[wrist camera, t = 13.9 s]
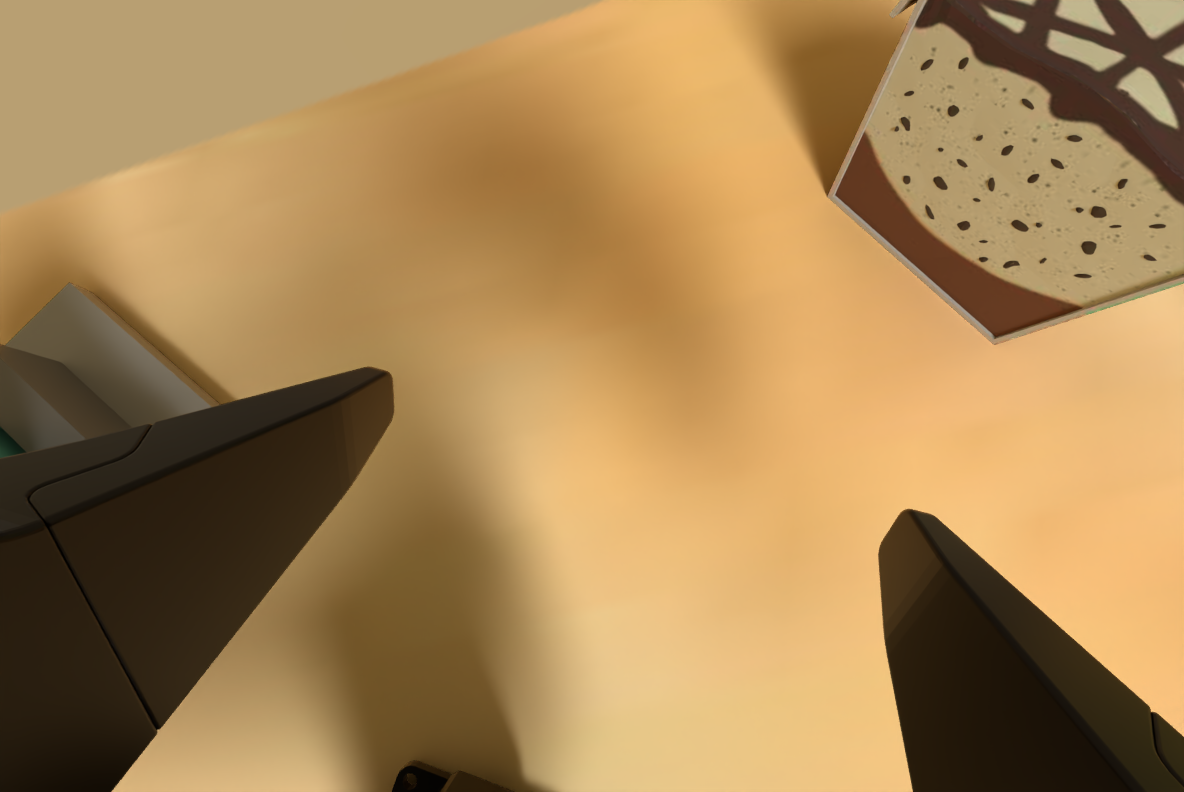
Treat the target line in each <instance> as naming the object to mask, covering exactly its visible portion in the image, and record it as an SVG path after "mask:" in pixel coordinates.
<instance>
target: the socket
mask: <svg viewBox="0 0 1184 792" xmlns="http://www.w3.org/2000/svg"><path fill="white" fill-rule="evenodd" d="M218 405H220V404H219V403H218V402H217V401H215V400H214V399H213V398H212V397H211V396H210V395H209V394H207V393H206V392H205V391H204V390H203V389H202V388H201V387H199V386H198V385H197V384H196V383H195V382H194V381H193V380H191V379H190V378H189V377H188V376H187V375H186V374H185V373H183V372H182V371H181V370H180V369H179V368H178V367H176V366H175V365H174V364H173V363H172V362H171V361H170V360H168V359H167V358H166V357H165V356H164V355H163V354H162V353H160V352H159V351H158V350H157V349H156V348H155V347H154V346H152V345H151V344H150V343H149V342H148V341H147V340H146V339H144V338H143V337H142V336H141V335H140V334H139V333H138V332H136V331H135V330H134V329H133V328H132V327H131V326H130V325H128V324H127V323H126V322H125V321H124V320H123V319H122V318H120V317H119V316H118V315H117V314H116V313H115V312H114V311H112V310H111V309H110V308H109V307H108V306H107V305H105V304H104V303H103V302H102V301H101V300H100V299H99V298H97V297H96V296H95V295H94V294H93V293H92V292H90V291H88V290H86V289H83V288H81V287H79V286H77V285H74V284H72V283H70V282H69V283H68V284H67V285H66V286H65V287H64V288H63V289H62V290H61V291H60V292H59V293H58V294H57V295H56V296H55V297H54V298H53V299H52V300H51V301H50V302H49V303H48V304H47V305H46V306H45V307H44V308H43V309H42V310H41V311H40V312H39V313H38V314H37V315H36V316H35V317H34V318H32V319H31V320H30V321H29V322H28V323H27V324H26V325H25V326H24V327H23V328H22V329H21V330H20V331H19V332H18V333H17V334H16V335H15V336H14V337H13V338H12V339H11V340H10V341H9V342H8V343H7V344H6V345H5V346H4V345H1V344H0V427H1V428H2V429H3V430H4V431H6V432H7V433H8V434H9V435H10V436H11V437H12V438H13V439H14V440H15V441H16V442H17V443H18V444H19V445H20V446H21V447H22V448H23V449H24V450H25V451H26V452H31V451H36V450H40V449H45V448H49V447H54V446H58V445H63V444H67V443H72V442H76V441H81V440H85V439H89V438H93V437H97V436H101V435H105V434H109V433H113V432H117V431H121V430H125V429H129V428H133V427H136V426H140V425H144V424H152V425H153V424H154V422H156V421H160V420H164V419H168V418H172V417H175V416H179V415H183V414H187V413H191V412H195V411H198V410H202V409H206V408H210V407H214V406H218Z"/></svg>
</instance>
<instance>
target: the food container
mask: <svg viewBox="0 0 1184 792" xmlns="http://www.w3.org/2000/svg"><path fill="white" fill-rule="evenodd" d="M914 3H916V5H915V7H914V10H913V12H912V14H911V16H910V18H909V20H908V23H907V25H906V27H905V29H904V31H903V33H902V36H901V38H900V40H899V42H898V44H897V46H896V49H895V51H894V53H893V55H892V57H891V59H890V61H889V64H888V66H887V68H886V70H885V72H884V74H883V77H882V79H881V81H880V83H879V85H878V87H877V90H876V92H875V94H874V96H873V98H872V100H871V103H870V105H869V107H868V109H867V111H866V113H865V116H864V118H863V120H862V122H861V124H860V126H859V129H858V131H857V133H856V135H855V137H854V139H853V142H852V144H851V146H850V148H849V150H848V152H847V155H846V157H845V159H844V161H843V163H842V165H841V168H840V170H839V172H838V174H837V176H836V178H835V181H834V183H833V185H832V187H831V189H830V191H829V194H828V196H827V197H828V198H829V199H830V200H831V201H832V202H834V203H835V204H836V205H837V206H838V207H839V208H840V209H841V210H843V211H844V212H845V213H846V214H847V215H848V216H849V217H850V218H852V219H853V220H854V221H855V222H856V223H857V224H858V225H859V226H861V227H862V228H863V229H864V230H865V231H866V232H867V233H868V234H870V235H871V236H872V237H873V238H874V239H875V240H876V241H877V242H879V243H880V244H881V245H882V246H883V247H884V248H885V249H887V250H888V251H889V252H890V253H891V254H892V255H893V256H894V257H896V258H897V259H898V260H899V261H900V262H901V263H902V264H903V265H905V266H906V267H907V268H908V269H909V270H910V271H911V272H912V273H914V274H915V275H916V276H917V277H918V278H919V279H920V280H921V281H923V282H924V283H925V284H926V285H927V286H928V287H929V288H930V289H932V290H933V291H934V292H935V293H936V294H937V295H938V296H939V297H941V298H942V299H943V300H944V301H945V302H946V303H947V304H949V305H950V306H951V307H952V308H953V309H954V310H955V311H956V312H958V313H959V314H960V315H961V316H962V317H963V318H964V319H965V320H967V321H968V322H969V323H970V324H971V325H972V326H973V327H974V328H976V329H977V330H978V331H979V332H980V333H981V334H982V335H983V336H985V337H986V338H987V339H988V340H989V341H990V342H991V343H992V344H994V345H996V344H999V343H1002V342H1005V341H1008V340H1011V339H1014V338H1017V337H1020V336H1023V335H1026V334H1029V333H1033V332H1036V331H1039V330H1042V329H1045V328H1048V327H1051V326H1054V325H1057V324H1060V323H1063V322H1066V321H1069V320H1073V319H1076V318H1079V317H1082V316H1085V315H1088V314H1091V313H1094V312H1097V311H1100V310H1103V309H1106V308H1109V307H1113V306H1116V305H1119V304H1122V303H1125V302H1128V301H1131V300H1134V299H1137V298H1140V297H1143V296H1146V295H1149V294H1153V293H1156V292H1159V291H1162V290H1165V289H1168V288H1171V287H1174V286H1177V285H1180V284H1183V283H1184V0H900V1H899V3H898V4H897V5H896V6H895V8H894V9H893V10H892V11H891V13H890V14H889V15H890V16H891V17H892V18H893V17H895V16H896V15H898V14H899V13H901V12H902V11H904V10H905V9H907V8H908V7H910V6H911V5H913V4H914Z"/></svg>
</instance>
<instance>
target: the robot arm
mask: <svg viewBox="0 0 1184 792" xmlns="http://www.w3.org/2000/svg"><path fill="white" fill-rule="evenodd" d="M393 415H394V394H393V378H392V375H391V374H390V373H389V372H388V371H385V370H381V369H377V368H373V367H364V368H360V369H356V370H352V371H348V372H344V373H341V374H337V375H333V376H329V377H325V378H321V379H318V380H314V381H310V382H306V383H302V384H298V385H295V386H291V387H287V388H283V389H279V390H275V391H271V392H268V393H264V394H260V395H256V396H252V397H248V398H245V399H241V400H237V401H233V402H229V403H225V404H222V405H218V406H214V407H210V408H206V409H202V410H198V411H195V412H191V413H187V414H183V415H179V416H175V417H172V418H168V419H164V420H160V421H156V422H154V424H153V425H152V424H144V425H140V426H136V427H133V428H129V429H125V430H121V431H117V432H113V433H109V434H105V435H101V436H97V437H93V438H89V439H85V440H81V441H76V442H72V443H67V444H63V445H58V446H54V447H49V448H45V449H40V450H36V451H31V452H27V453H22V454H17V455H12V456H8V457H3V458H0V792H112V790H113V789H114V788H115V786H116V785H117V784H118V783H119V781H120V780H121V779H122V778H123V776H124V775H125V774H126V773H127V771H128V770H129V769H130V767H131V766H132V765H133V764H134V762H135V761H136V760H137V759H138V757H139V756H140V755H141V753H142V752H143V751H144V750H145V748H146V747H147V746H148V745H149V743H150V742H151V741H152V740H153V738H154V737H155V736H156V734H157V730H159V729H160V728H161V727H162V726H163V725H164V724H165V722H166V721H167V720H168V719H169V717H170V716H171V715H172V713H173V712H174V711H175V710H176V708H177V707H178V706H179V705H180V703H181V702H182V701H183V700H184V698H185V697H186V696H187V694H188V693H189V692H190V691H191V689H192V688H193V687H194V686H195V684H196V683H197V682H198V680H199V679H200V678H201V677H202V675H203V674H204V673H205V672H206V670H207V669H208V668H209V666H210V665H211V664H212V663H213V661H214V660H215V659H216V658H217V656H218V655H219V654H220V653H221V651H222V650H223V649H224V647H225V646H226V645H227V644H228V642H229V641H230V640H231V639H232V637H233V636H234V635H235V633H236V632H237V631H238V630H239V628H240V627H241V626H242V625H243V623H244V622H245V621H246V619H247V618H248V617H249V616H250V614H251V613H252V612H253V611H254V609H255V608H256V607H257V606H258V604H259V603H260V602H261V600H262V599H263V598H264V597H265V595H266V594H267V593H268V592H269V590H270V589H271V588H272V586H273V585H274V584H275V583H276V581H277V580H278V579H279V578H280V576H281V575H282V574H283V573H284V571H285V570H286V569H287V567H288V566H289V565H290V564H291V562H292V561H293V560H294V559H295V557H296V556H297V555H298V553H299V552H300V551H301V550H302V548H303V547H304V546H305V545H306V543H307V542H308V541H309V539H310V538H311V537H312V536H313V534H314V533H315V532H316V531H317V529H318V528H319V527H320V526H321V524H322V523H323V522H324V520H325V519H326V518H327V517H328V515H329V514H330V513H331V512H332V510H333V509H334V508H335V506H336V505H337V504H338V503H339V501H340V500H341V499H342V498H343V496H344V495H345V494H346V492H347V491H348V490H349V488H350V487H351V485H352V484H353V482H354V481H355V479H356V478H357V476H358V475H359V473H360V471H361V470H362V468H363V467H364V465H365V463H366V462H367V460H368V459H369V457H370V455H371V454H372V452H373V450H374V449H375V447H376V446H377V444H378V442H379V441H380V439H381V437H382V436H383V434H384V433H385V431H386V429H387V428H388V426H389V425H390V423H391V421H392V418H393ZM878 559H879V573H880V587H881V602H882V616H883V629H884V639H885V646H886V652H887V658H888V663H889V668H890V673H891V679H892V684H893V689H894V695H895V700H896V705H897V710H898V716H899V721H900V726H901V731H902V737H903V742H904V747H905V752H906V758H907V763H908V768H909V773H910V779H911V784H912V789H913V792H1184V737H1183V736H1182V735H1181V734H1180V733H1179V732H1178V731H1177V730H1176V729H1174V728H1173V727H1172V726H1171V725H1170V724H1169V723H1168V722H1167V721H1165V720H1164V719H1163V718H1162V717H1161V716H1160V715H1159V714H1157V713H1155V712H1151V709H1150V707H1149V706H1148V705H1147V704H1146V703H1145V702H1144V701H1143V700H1142V699H1140V698H1139V697H1138V696H1137V695H1136V694H1135V693H1134V692H1133V691H1131V690H1130V689H1129V688H1128V687H1127V686H1126V685H1125V684H1124V683H1122V682H1121V681H1120V680H1119V679H1118V678H1117V677H1116V676H1114V675H1113V674H1112V673H1111V672H1110V671H1109V670H1108V669H1107V668H1105V667H1104V666H1103V665H1102V664H1101V663H1100V662H1099V661H1098V660H1096V659H1095V658H1094V657H1093V656H1092V655H1091V654H1090V653H1089V652H1087V651H1086V650H1085V649H1084V648H1083V647H1082V646H1081V645H1080V644H1078V643H1077V642H1076V641H1075V640H1074V639H1073V638H1072V637H1070V636H1069V635H1068V634H1067V633H1066V632H1065V631H1064V630H1063V629H1061V628H1060V627H1059V626H1058V625H1057V624H1056V623H1055V622H1054V621H1052V620H1051V619H1050V618H1049V617H1048V616H1047V615H1046V614H1045V613H1043V612H1042V611H1041V610H1040V609H1039V608H1038V607H1037V606H1036V605H1034V604H1033V603H1032V602H1031V601H1030V600H1029V599H1028V598H1027V597H1025V596H1024V595H1023V594H1022V593H1021V592H1020V591H1019V590H1018V589H1016V588H1015V587H1014V586H1013V585H1012V584H1011V583H1010V582H1008V581H1007V580H1006V579H1005V578H1004V577H1003V576H1002V575H1001V574H999V573H998V572H997V571H996V570H995V569H994V568H993V567H992V566H990V565H989V564H988V563H987V562H986V561H985V560H984V559H983V558H981V557H980V556H979V555H978V554H977V553H976V552H975V551H974V550H972V549H971V548H970V547H969V546H968V545H967V544H966V543H965V542H963V541H962V540H961V539H960V538H959V537H958V536H957V535H956V534H954V533H953V532H952V531H951V530H950V529H949V528H948V527H947V526H945V525H944V524H943V523H942V522H941V521H940V520H939V519H937V518H936V517H935V516H933V515H931V514H928V513H924V512H921V511H917V510H913V509H906V510H903V511H902V512H901V513H900V514H899V516H898V517H897V519H896V520H895V522H894V523H893V525H892V527H891V528H890V530H889V531H888V533H887V534H886V536H885V537H884V539H883V540H882V542H881V545H880V548H879V554H878ZM409 773H410V774H414V775H415V776H416V778H417V784H415V785H414V784H410V783H409V782H408V779H407V774H409ZM392 792H514V791H511V790H509V789H506V788H504V787H501V786H499V785H496V784H493V783H491V782H488V781H486V780H483V779H480V778H478V777H475V776H473V775H470V774H468V773H465V772H462V771H458V772H456V773H454V774H450V773H448V772H445V771H442V770H440V769H437V768H435V767H432V766H430V765H427V764H424V763H422V762H419V761H412V762H409V763H407V764H406V765H405V766H404V767H403V768H402V769H401V770H400V772H399V774H398V776H397V778H396V781H395V784H394V786H393V789H392Z"/></svg>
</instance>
